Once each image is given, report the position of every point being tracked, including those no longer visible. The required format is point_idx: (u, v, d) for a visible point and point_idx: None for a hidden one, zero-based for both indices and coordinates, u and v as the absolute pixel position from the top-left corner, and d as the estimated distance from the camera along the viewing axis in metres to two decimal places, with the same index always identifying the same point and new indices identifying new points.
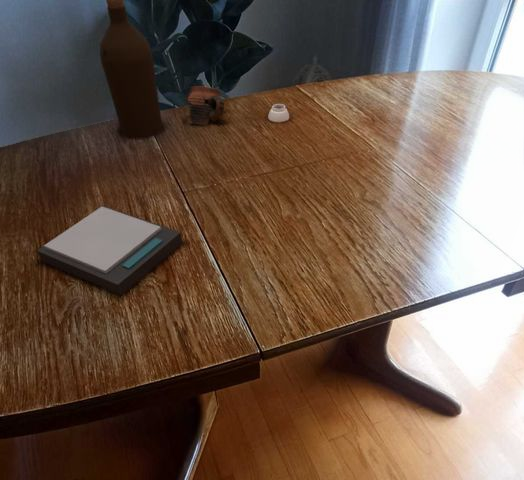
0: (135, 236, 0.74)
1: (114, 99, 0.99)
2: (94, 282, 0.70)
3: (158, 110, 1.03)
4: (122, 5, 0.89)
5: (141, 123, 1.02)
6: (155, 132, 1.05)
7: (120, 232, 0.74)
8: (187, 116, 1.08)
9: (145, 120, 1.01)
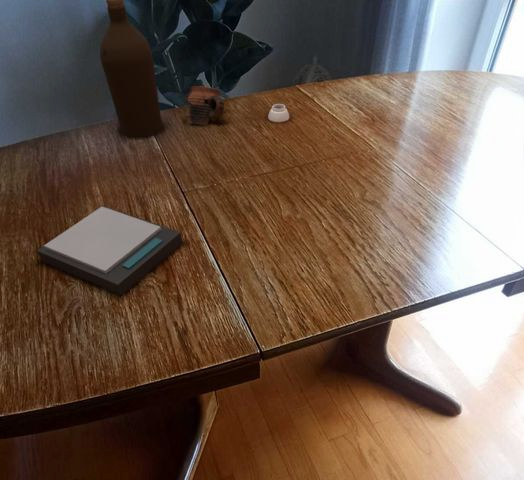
0: (135, 236, 0.74)
1: (114, 99, 0.99)
2: (94, 282, 0.70)
3: (158, 110, 1.03)
4: (122, 5, 0.89)
5: (141, 123, 1.02)
6: (155, 132, 1.05)
7: (120, 232, 0.74)
8: (187, 116, 1.08)
9: (145, 120, 1.01)
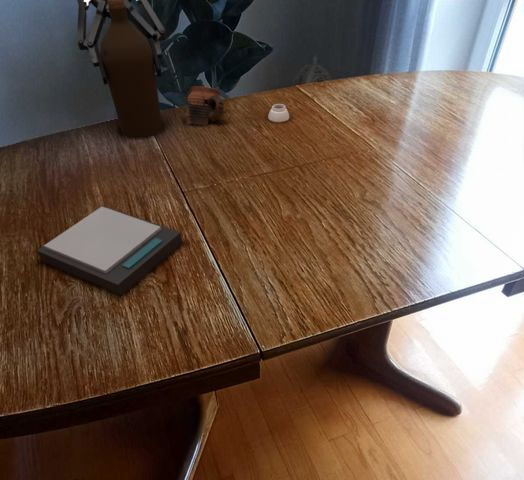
0: (135, 236, 0.74)
1: (114, 99, 0.99)
2: (94, 282, 0.70)
3: (158, 110, 1.03)
4: (123, 5, 0.89)
5: (142, 123, 1.02)
6: (155, 132, 1.05)
7: (120, 232, 0.74)
8: (186, 116, 1.08)
9: (145, 120, 1.01)
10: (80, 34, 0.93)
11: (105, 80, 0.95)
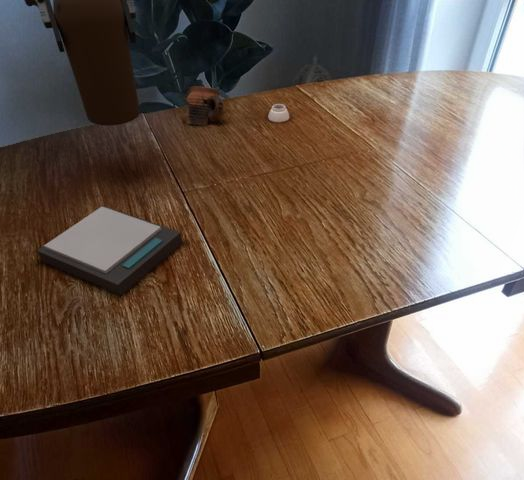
0: (135, 236, 0.74)
1: (75, 72, 0.76)
2: (94, 282, 0.70)
3: (134, 88, 0.80)
4: None
5: (112, 105, 0.78)
6: (130, 117, 0.81)
7: (120, 232, 0.74)
8: (186, 116, 1.08)
9: (116, 101, 0.78)
10: None
11: (61, 46, 0.72)
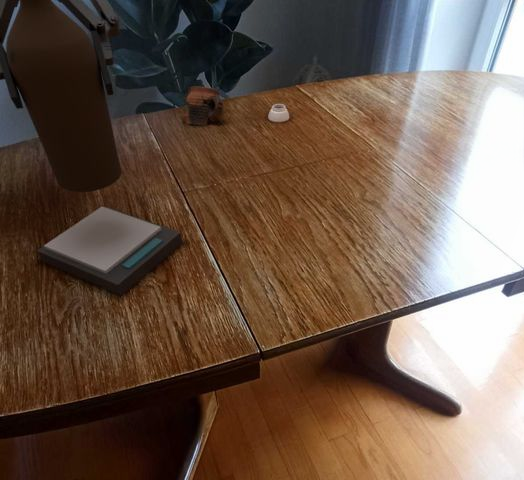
0: (135, 236, 0.74)
1: (38, 131, 0.61)
2: (94, 282, 0.70)
3: (112, 147, 0.65)
4: None
5: (85, 169, 0.63)
6: (108, 181, 0.66)
7: (120, 232, 0.74)
8: (186, 116, 1.08)
9: (90, 164, 0.63)
10: None
11: (17, 102, 0.57)
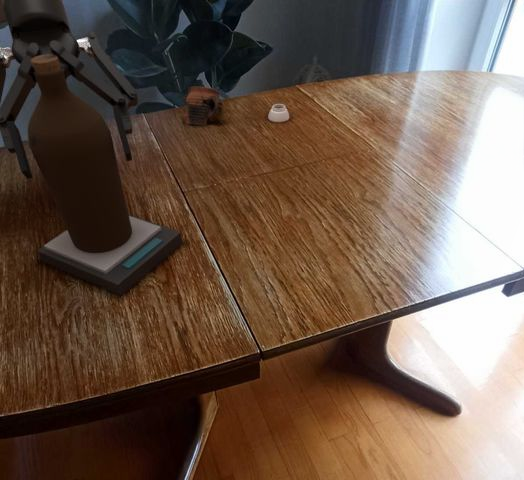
0: (135, 236, 0.74)
1: (55, 201, 0.66)
2: (94, 282, 0.70)
3: (124, 211, 0.70)
4: (58, 69, 0.56)
5: (98, 234, 0.68)
6: (120, 242, 0.71)
7: None
8: (185, 116, 1.08)
9: (104, 229, 0.68)
10: None
11: (27, 174, 0.61)
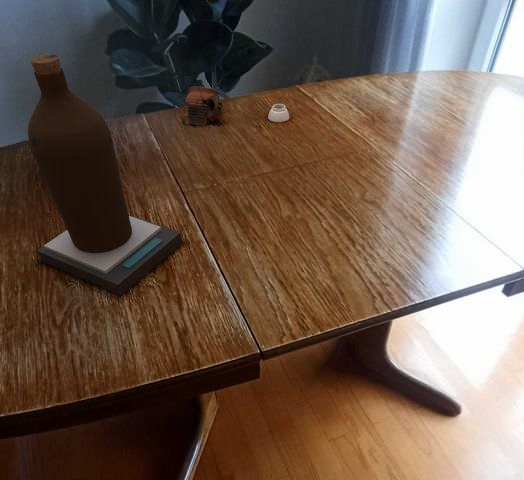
0: (135, 236, 0.74)
1: (55, 201, 0.66)
2: (94, 282, 0.70)
3: (124, 211, 0.70)
4: (58, 69, 0.56)
5: (98, 234, 0.68)
6: (120, 242, 0.71)
7: None
8: (185, 116, 1.08)
9: (104, 229, 0.68)
10: None
11: None
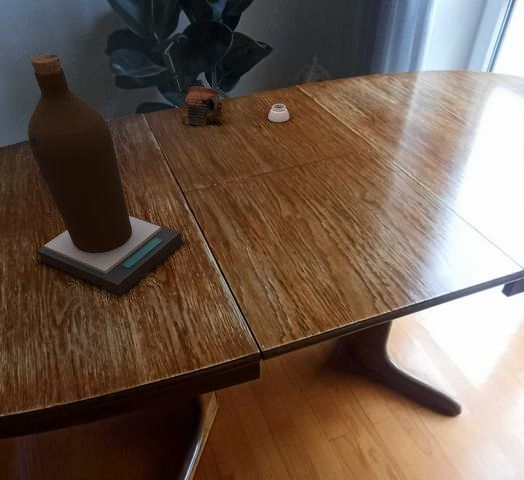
0: (135, 236, 0.74)
1: (55, 201, 0.66)
2: (94, 282, 0.70)
3: (124, 211, 0.70)
4: (58, 69, 0.56)
5: (98, 234, 0.68)
6: (120, 242, 0.71)
7: None
8: (185, 116, 1.08)
9: (104, 229, 0.68)
10: None
11: None
